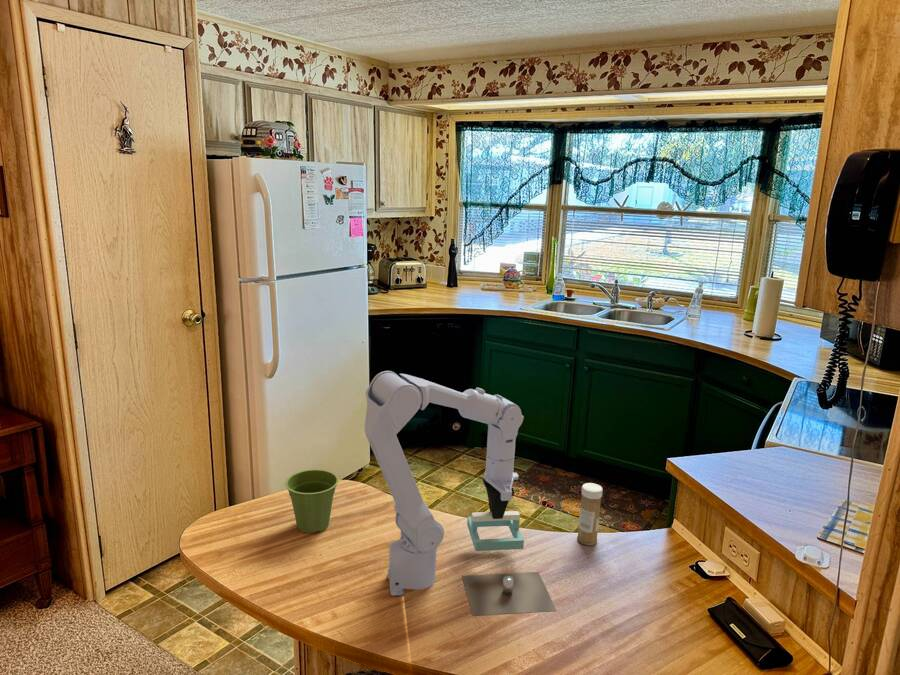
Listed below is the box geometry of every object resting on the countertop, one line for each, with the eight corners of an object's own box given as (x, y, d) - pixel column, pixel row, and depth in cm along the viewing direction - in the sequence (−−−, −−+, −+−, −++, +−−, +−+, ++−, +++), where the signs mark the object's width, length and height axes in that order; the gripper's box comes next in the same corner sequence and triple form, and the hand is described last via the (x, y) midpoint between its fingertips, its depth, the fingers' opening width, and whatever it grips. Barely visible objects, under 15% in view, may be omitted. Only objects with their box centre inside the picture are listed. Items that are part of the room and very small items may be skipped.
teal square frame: (475, 551, 125) (476, 527, 124) (467, 525, 135) (468, 502, 133) (523, 549, 126) (525, 525, 125) (511, 523, 136) (513, 501, 135)
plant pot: (289, 512, 147) (289, 469, 144) (340, 511, 148) (340, 468, 145) (282, 540, 135) (281, 493, 133) (336, 539, 137) (336, 493, 134)
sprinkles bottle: (601, 542, 140) (607, 488, 137) (586, 548, 137) (592, 493, 134) (586, 533, 144) (592, 480, 140) (572, 538, 141) (577, 484, 138)
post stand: (472, 620, 113) (473, 601, 112) (461, 580, 124) (462, 562, 123) (556, 615, 115) (558, 596, 114) (538, 576, 127) (539, 558, 126)
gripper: (528, 470, 120) (523, 533, 123) (511, 440, 134) (507, 497, 137) (493, 471, 119) (489, 534, 122) (479, 441, 133) (475, 498, 136)
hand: (496, 515), depth 129 cm, fingers closed on teal square frame
